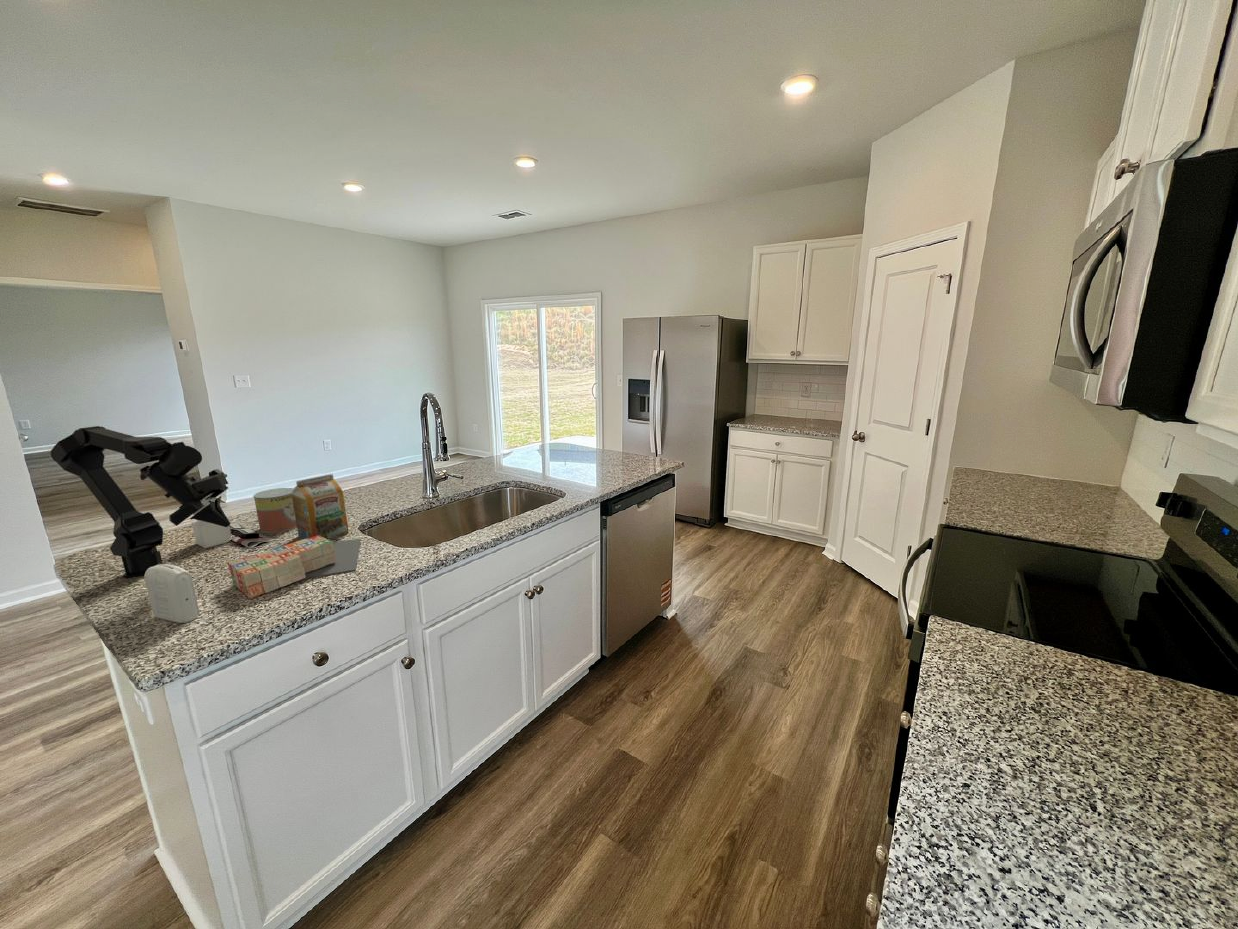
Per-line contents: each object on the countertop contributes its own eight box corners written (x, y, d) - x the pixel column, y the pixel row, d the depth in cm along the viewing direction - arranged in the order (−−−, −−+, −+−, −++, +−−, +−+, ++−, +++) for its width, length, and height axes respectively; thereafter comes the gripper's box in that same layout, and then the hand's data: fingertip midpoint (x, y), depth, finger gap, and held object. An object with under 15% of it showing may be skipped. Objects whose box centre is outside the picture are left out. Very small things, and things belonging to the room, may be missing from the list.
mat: (285, 582, 125) (285, 581, 125) (300, 548, 146) (300, 547, 146) (356, 570, 132) (355, 569, 132) (360, 539, 153) (360, 538, 153)
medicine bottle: (233, 541, 153) (225, 504, 150) (205, 548, 147) (196, 510, 144) (223, 536, 156) (216, 500, 153) (195, 543, 150) (187, 506, 148)
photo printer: (204, 615, 110) (192, 564, 107) (182, 625, 106) (170, 573, 103) (172, 608, 113) (160, 558, 110) (150, 618, 109) (137, 566, 106)
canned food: (285, 533, 159) (279, 497, 156) (251, 533, 159) (244, 498, 156) (307, 521, 169) (302, 487, 167) (275, 521, 170) (269, 488, 167)
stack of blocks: (318, 534, 139) (338, 543, 132) (322, 554, 140) (342, 564, 133) (226, 562, 122) (243, 575, 115) (232, 585, 124) (249, 599, 117)
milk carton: (333, 526, 164) (324, 471, 160) (348, 533, 158) (340, 476, 154) (298, 536, 156) (288, 478, 152) (313, 543, 150) (303, 483, 146)
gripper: (184, 472, 115) (240, 519, 121) (219, 453, 132) (266, 495, 139) (143, 502, 114) (202, 547, 120) (183, 479, 131) (233, 520, 138)
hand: (228, 525), depth 129 cm, fingers closed
